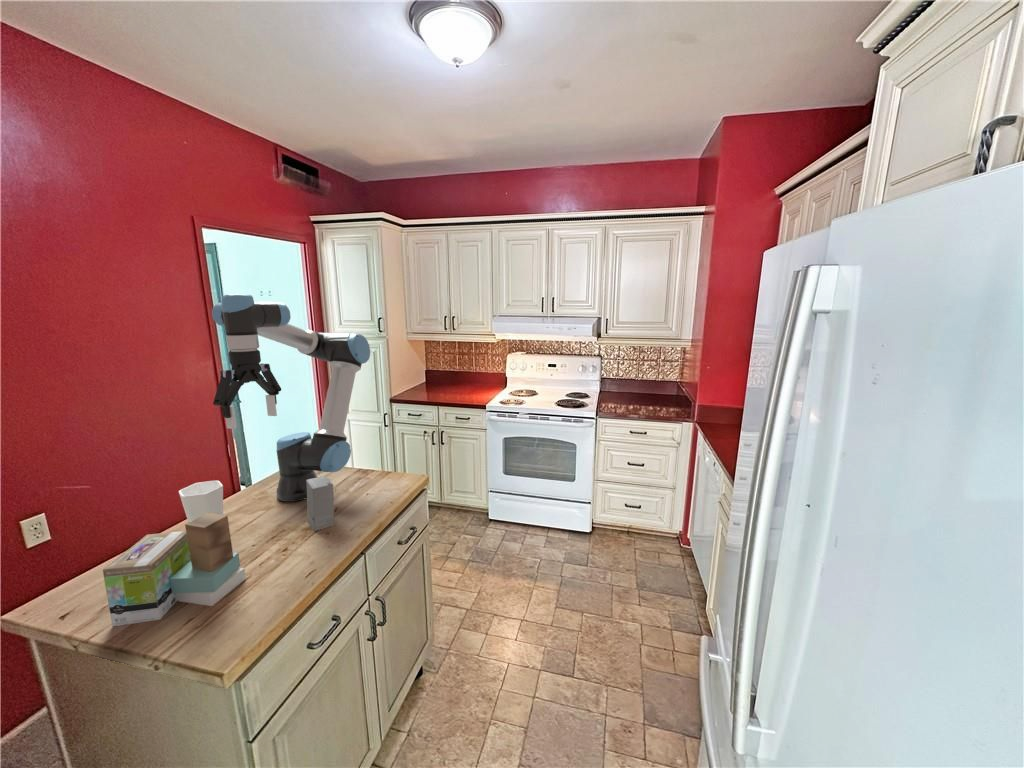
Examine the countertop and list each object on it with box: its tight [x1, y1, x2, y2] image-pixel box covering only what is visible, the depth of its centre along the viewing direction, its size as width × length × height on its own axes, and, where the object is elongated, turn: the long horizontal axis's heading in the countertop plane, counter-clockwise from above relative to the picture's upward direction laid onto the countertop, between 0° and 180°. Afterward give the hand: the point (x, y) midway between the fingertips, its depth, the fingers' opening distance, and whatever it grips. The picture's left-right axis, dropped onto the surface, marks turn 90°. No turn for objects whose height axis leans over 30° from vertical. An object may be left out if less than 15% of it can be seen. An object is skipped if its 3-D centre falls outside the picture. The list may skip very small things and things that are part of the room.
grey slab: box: [176, 567, 246, 607], centre depth 102 cm, size 10×10×4 cm
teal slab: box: [170, 551, 241, 593], centre depth 101 cm, size 10×10×4 cm
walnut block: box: [184, 513, 234, 572], centre depth 100 cm, size 6×6×12 cm
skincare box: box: [306, 475, 335, 532], centre depth 132 cm, size 8×7×16 cm
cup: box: [178, 480, 224, 523], centre depth 124 cm, size 11×10×17 cm
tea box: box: [102, 530, 191, 627], centre depth 97 cm, size 15×10×15 cm
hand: (253, 421), depth 117 cm, fingers open, 13 cm apart
